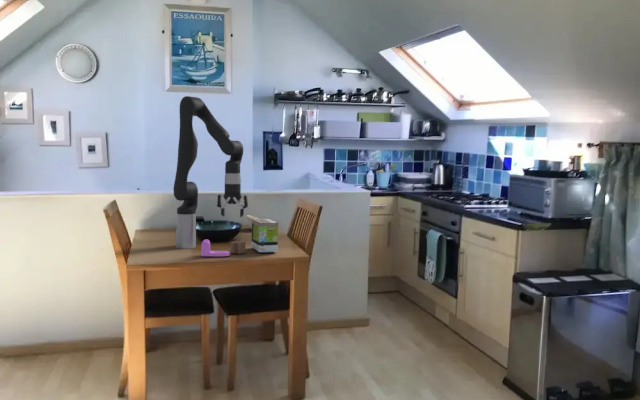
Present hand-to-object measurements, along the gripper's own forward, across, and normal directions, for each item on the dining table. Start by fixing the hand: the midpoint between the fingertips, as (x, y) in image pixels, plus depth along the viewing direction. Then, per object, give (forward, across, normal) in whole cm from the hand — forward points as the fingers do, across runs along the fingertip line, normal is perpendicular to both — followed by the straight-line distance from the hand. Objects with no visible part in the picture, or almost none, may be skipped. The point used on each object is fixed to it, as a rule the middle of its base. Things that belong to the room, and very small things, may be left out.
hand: (232, 216), depth 258 cm
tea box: (+18, +14, +11) cm, 25 cm away
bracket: (+18, -7, -5) cm, 20 cm away
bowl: (+18, +2, +67) cm, 69 cm away
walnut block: (+15, +3, +5) cm, 16 cm away
